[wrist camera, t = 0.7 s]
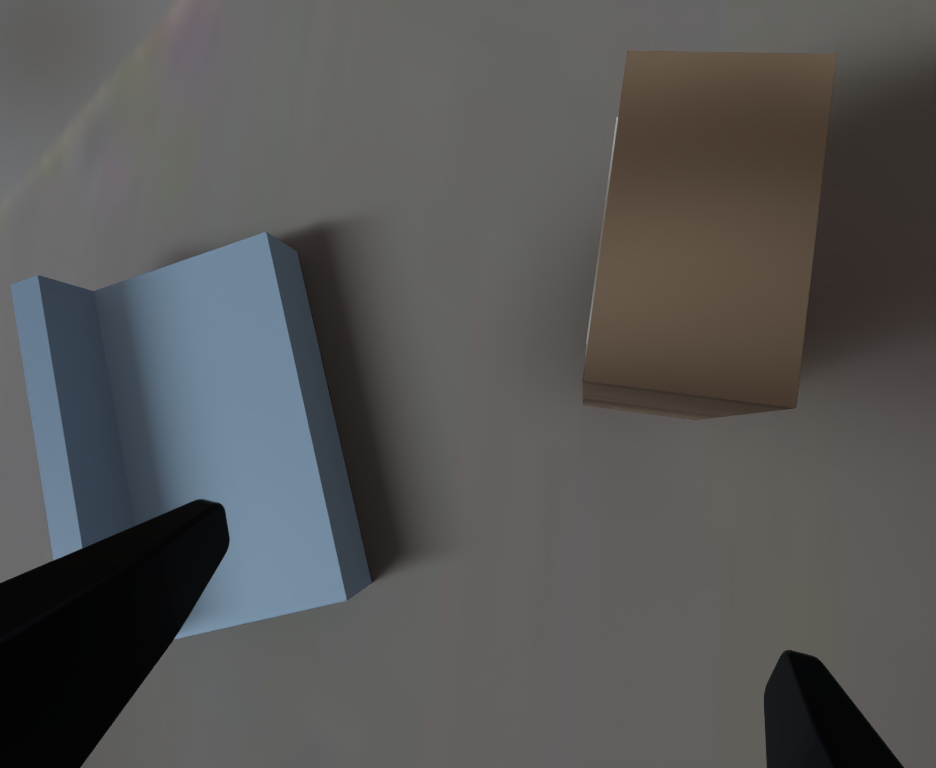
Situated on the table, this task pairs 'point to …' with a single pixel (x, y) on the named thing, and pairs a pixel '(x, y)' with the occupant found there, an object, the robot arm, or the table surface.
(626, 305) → the frame block
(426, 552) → the table surface
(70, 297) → the picture shelf
